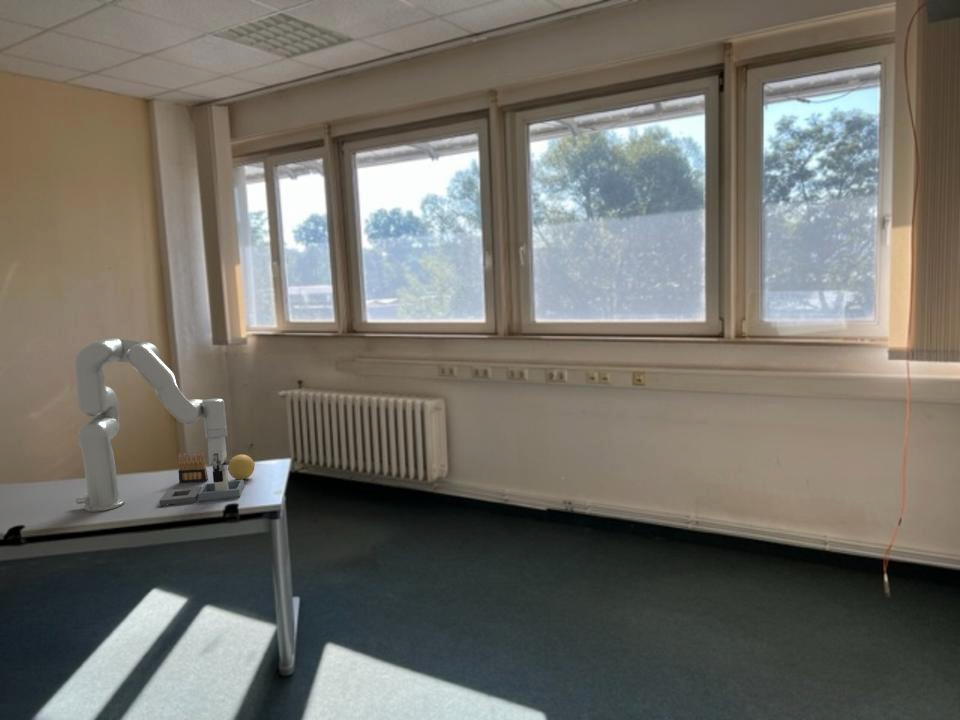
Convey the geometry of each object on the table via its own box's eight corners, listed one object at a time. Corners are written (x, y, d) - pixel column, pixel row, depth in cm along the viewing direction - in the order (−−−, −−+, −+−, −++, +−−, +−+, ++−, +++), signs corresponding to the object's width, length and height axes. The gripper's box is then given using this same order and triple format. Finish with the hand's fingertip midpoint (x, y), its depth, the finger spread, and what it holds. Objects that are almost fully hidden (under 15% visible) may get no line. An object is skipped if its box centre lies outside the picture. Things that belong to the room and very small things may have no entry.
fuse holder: (159, 506, 231) (159, 500, 231) (168, 495, 243) (167, 490, 243) (195, 502, 234) (195, 496, 234) (202, 491, 246) (201, 486, 245)
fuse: (215, 495, 239) (212, 468, 238) (217, 491, 243) (214, 465, 242) (227, 494, 240) (224, 467, 239) (229, 490, 244) (226, 464, 243)
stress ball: (250, 484, 255) (264, 463, 261) (231, 470, 250) (246, 448, 255) (236, 484, 261) (250, 463, 267) (218, 470, 256) (232, 449, 262)
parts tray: (198, 501, 234) (198, 493, 234) (205, 491, 246) (204, 483, 245) (240, 497, 237) (239, 489, 237) (244, 487, 249) (243, 479, 248)
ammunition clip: (208, 480, 260) (205, 451, 258) (206, 481, 258) (203, 452, 256) (181, 481, 260) (178, 452, 258) (179, 483, 258) (176, 453, 256)
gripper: (209, 428, 246) (214, 472, 248) (200, 439, 229) (205, 486, 231) (230, 426, 248) (234, 470, 250) (223, 437, 231) (227, 483, 233)
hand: (220, 477), depth 241 cm, fingers open, 9 cm apart
